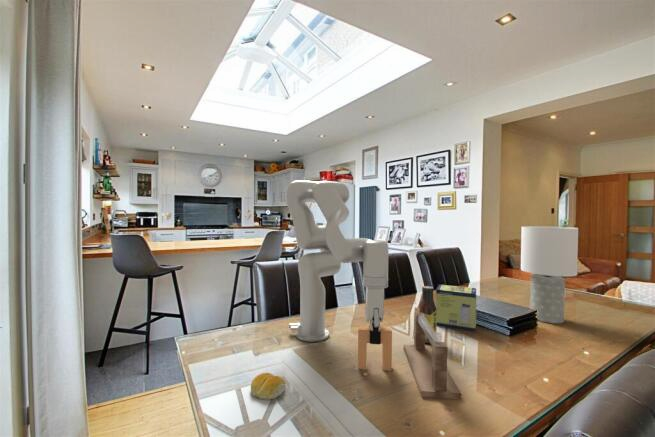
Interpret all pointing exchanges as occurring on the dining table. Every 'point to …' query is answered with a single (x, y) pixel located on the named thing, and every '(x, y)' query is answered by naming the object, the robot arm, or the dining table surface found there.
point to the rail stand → (430, 362)
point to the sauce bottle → (428, 308)
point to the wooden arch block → (385, 341)
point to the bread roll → (267, 386)
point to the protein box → (456, 307)
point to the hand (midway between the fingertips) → (374, 340)
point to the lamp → (549, 267)
